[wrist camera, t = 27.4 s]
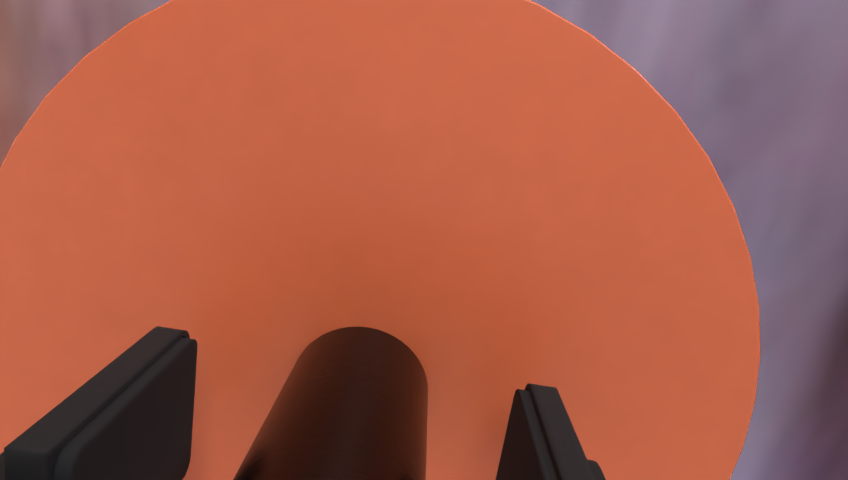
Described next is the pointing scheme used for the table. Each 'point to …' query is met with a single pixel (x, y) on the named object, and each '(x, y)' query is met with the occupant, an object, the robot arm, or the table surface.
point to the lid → (380, 241)
